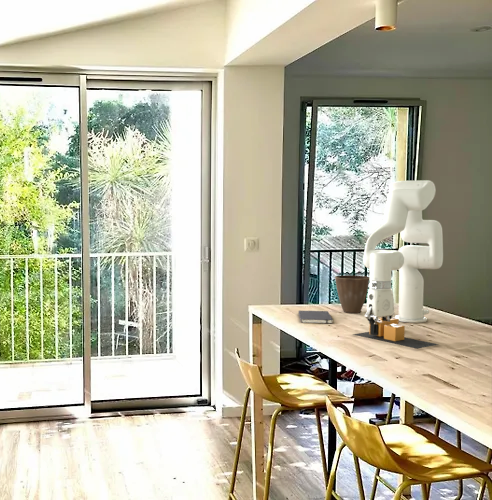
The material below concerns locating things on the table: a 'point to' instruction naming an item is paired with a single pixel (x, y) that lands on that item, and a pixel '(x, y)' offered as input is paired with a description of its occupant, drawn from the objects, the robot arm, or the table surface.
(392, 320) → the letter T
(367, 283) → the flower pot
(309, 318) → the notebook
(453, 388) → the table surface
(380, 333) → the letter L
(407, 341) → the word mat
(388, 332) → the letter I
